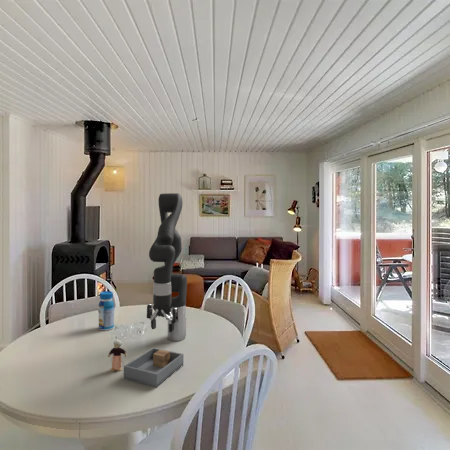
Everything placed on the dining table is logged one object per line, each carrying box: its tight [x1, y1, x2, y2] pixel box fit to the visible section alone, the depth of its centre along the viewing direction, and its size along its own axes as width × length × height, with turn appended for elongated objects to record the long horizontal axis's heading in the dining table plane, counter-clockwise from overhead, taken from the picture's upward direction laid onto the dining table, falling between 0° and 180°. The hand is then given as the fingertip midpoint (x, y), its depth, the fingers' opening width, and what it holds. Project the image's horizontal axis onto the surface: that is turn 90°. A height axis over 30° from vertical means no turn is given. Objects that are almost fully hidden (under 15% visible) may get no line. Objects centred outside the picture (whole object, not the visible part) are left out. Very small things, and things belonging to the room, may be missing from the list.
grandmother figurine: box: [107, 338, 128, 372], centre depth 139 cm, size 8×4×13 cm, turn 105°
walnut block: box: [153, 349, 170, 368], centre depth 143 cm, size 5×5×5 cm
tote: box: [123, 347, 184, 388], centre depth 138 cm, size 20×16×5 cm
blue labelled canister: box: [97, 290, 115, 331], centre depth 186 cm, size 8×8×20 cm
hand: (162, 330), depth 142 cm, fingers open, 8 cm apart
